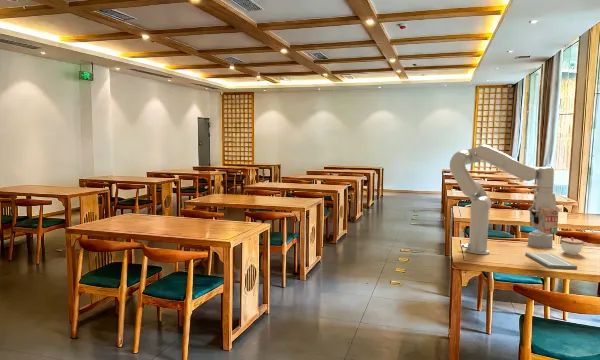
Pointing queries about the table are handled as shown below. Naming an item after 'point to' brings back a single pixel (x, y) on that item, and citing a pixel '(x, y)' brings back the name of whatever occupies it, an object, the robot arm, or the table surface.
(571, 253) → the lidded jar
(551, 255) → the foundation board
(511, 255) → the table surface
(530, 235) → the grey bumpy block
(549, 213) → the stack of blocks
